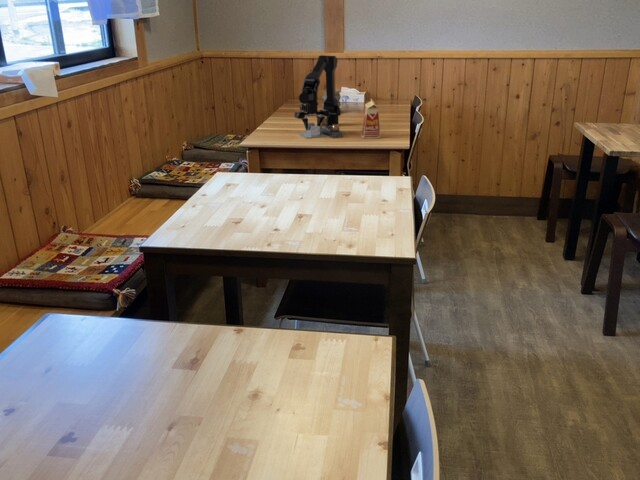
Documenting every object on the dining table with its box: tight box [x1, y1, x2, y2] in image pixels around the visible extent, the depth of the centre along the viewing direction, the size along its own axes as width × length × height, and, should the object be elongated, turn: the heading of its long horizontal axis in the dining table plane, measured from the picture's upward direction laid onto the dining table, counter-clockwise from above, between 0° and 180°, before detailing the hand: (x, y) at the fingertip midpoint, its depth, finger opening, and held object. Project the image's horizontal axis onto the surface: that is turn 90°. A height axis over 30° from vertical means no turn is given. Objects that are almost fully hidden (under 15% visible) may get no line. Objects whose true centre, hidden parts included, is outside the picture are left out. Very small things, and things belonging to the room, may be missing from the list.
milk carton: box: [360, 98, 381, 140], centre depth 307 cm, size 9×9×20 cm
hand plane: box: [320, 117, 344, 139], centre depth 317 cm, size 22×6×7 cm, turn 24°
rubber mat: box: [297, 132, 328, 140], centre depth 315 cm, size 12×12×1 cm
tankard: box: [321, 89, 342, 111], centre depth 376 cm, size 20×13×15 cm, turn 179°
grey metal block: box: [304, 122, 320, 136], centre depth 314 cm, size 8×5×6 cm, turn 24°
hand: (312, 129), depth 314 cm, fingers open, 6 cm apart
